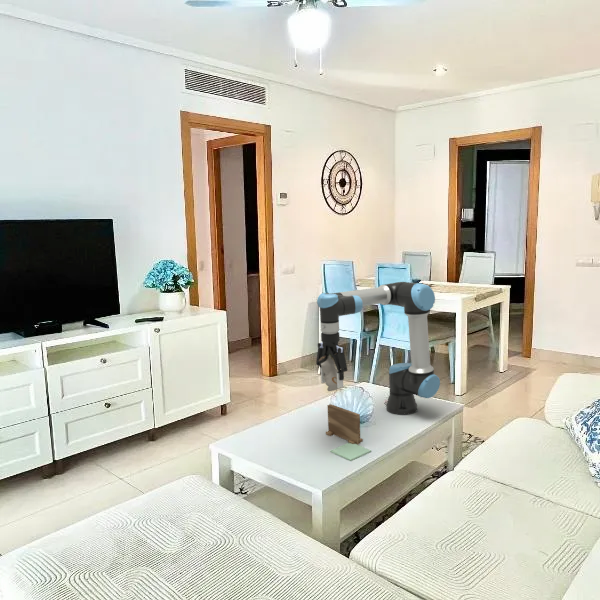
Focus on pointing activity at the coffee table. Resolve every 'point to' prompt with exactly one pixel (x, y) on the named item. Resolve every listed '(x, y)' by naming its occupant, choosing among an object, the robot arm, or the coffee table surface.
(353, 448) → the pad
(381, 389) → the coffee table surface
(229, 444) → the coffee table surface
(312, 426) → the coffee table surface
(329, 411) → the screen
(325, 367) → the figurine
